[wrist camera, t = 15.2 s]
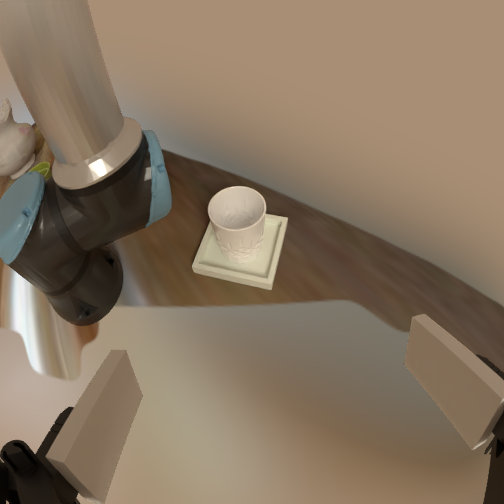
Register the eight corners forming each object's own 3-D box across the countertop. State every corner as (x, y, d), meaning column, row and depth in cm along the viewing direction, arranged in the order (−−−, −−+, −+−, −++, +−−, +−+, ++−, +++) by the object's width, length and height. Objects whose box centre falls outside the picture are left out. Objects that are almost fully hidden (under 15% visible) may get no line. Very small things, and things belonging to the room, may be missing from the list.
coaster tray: (194, 272, 45) (191, 266, 44) (218, 212, 51) (216, 205, 50) (271, 290, 43) (271, 284, 42) (287, 225, 50) (287, 217, 48)
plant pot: (31, 210, 55) (14, 188, 48) (52, 183, 60) (37, 160, 53) (49, 216, 54) (31, 193, 46) (71, 187, 58) (56, 162, 51)
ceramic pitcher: (45, 171, 65) (14, 104, 44) (-3, 204, 58) (-39, 143, 37) (43, 143, 74) (21, 86, 54) (2, 170, 68) (-25, 117, 47)
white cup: (221, 225, 49) (213, 185, 41) (266, 228, 49) (267, 187, 40) (213, 265, 45) (202, 228, 37) (263, 269, 44) (264, 232, 36)
